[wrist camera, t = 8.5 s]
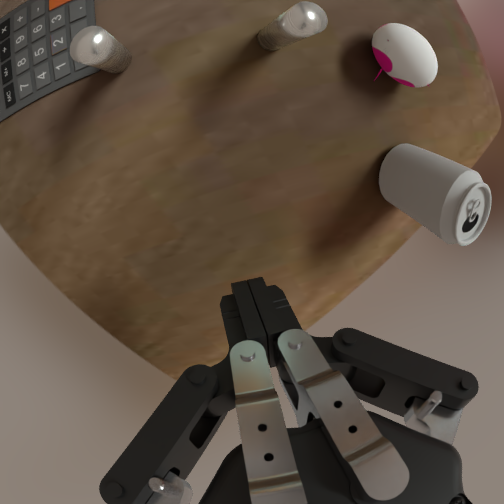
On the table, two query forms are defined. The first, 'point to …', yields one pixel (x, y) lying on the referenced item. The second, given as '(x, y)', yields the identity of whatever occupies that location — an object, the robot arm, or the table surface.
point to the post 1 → (99, 50)
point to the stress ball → (404, 55)
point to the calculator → (40, 50)
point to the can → (436, 193)
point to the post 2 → (293, 26)
